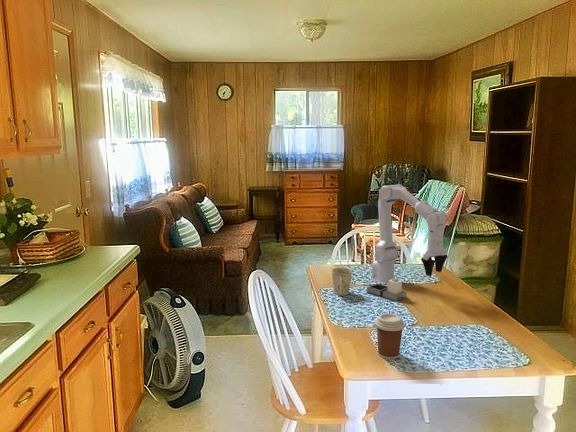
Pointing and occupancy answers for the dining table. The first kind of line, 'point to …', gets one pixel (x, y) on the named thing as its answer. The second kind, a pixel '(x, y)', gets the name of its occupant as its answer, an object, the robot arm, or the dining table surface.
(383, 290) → the panel
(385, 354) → the coffee cup
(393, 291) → the plug
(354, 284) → the dining table surface
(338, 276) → the mug
